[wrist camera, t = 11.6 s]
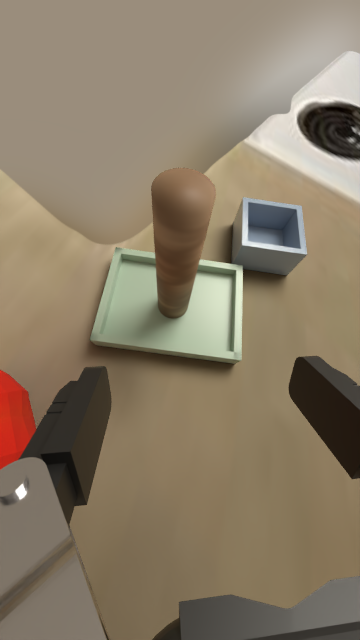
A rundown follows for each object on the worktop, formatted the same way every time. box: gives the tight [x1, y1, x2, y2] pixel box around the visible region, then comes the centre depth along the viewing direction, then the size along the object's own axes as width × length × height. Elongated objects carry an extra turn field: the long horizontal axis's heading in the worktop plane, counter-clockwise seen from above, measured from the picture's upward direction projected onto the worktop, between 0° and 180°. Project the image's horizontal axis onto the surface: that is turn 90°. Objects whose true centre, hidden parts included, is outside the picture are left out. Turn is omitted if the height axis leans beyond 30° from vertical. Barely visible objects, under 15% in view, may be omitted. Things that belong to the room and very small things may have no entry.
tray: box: [90, 247, 243, 364], centre depth 26 cm, size 16×12×2 cm
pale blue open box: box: [231, 197, 307, 275], centre depth 29 cm, size 8×8×4 cm
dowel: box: [151, 168, 216, 319], centre depth 19 cm, size 4×4×15 cm
